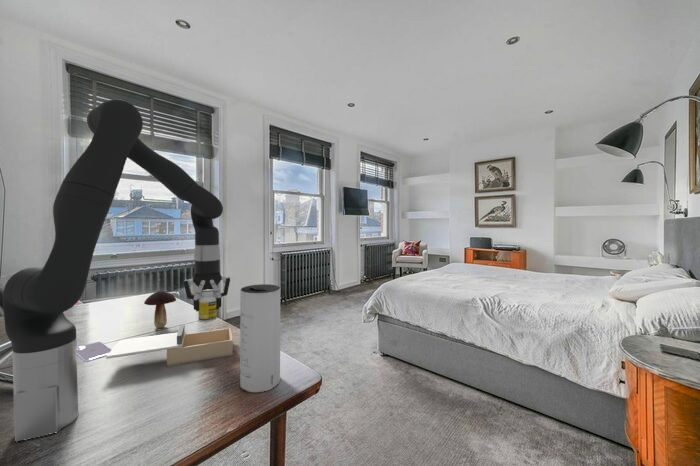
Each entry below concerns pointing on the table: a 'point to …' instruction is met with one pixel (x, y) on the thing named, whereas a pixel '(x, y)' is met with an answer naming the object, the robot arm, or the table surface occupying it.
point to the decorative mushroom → (160, 306)
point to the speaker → (259, 337)
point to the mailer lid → (148, 344)
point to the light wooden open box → (202, 347)
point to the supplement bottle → (207, 306)
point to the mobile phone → (92, 351)
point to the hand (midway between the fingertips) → (207, 309)
